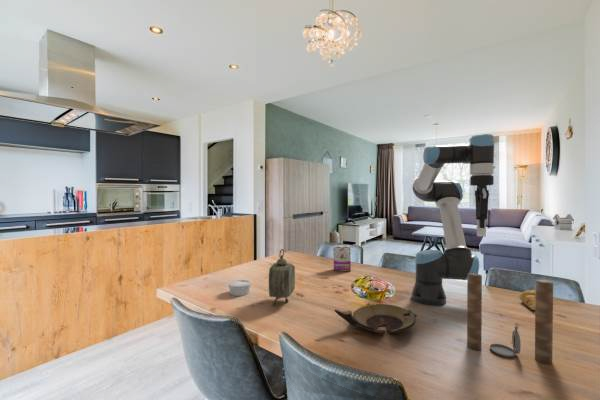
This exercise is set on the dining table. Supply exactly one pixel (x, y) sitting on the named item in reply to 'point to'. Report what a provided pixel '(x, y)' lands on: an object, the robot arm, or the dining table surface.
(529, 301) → the croissant
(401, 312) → the oil lamp
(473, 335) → the post left
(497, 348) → the pocket watch
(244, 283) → the ramekin
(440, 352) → the dining table surface
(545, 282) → the post right
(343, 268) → the candy bar box
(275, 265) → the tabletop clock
